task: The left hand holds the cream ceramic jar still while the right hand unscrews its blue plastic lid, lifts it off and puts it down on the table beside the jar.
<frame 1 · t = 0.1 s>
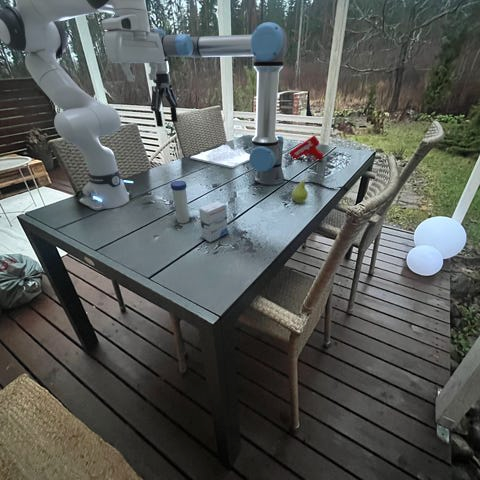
left hand: (142, 80, 85), 48 cm above the table, tool pointing down, fingers open, 8 cm apart
right hand: (167, 124, 132), 28 cm above the table, tool pointing down, fingers open, 13 cm apart
fruit: (299, 202, 122), on the table
toy gun: (305, 160, 175), on the table
relief map: (224, 158, 180), on the table
jar: (183, 220, 108), on the table
ink box: (214, 236, 98), on the table
lid: (178, 184, 100), point 15 cm above the table, screwed on, not yet turned
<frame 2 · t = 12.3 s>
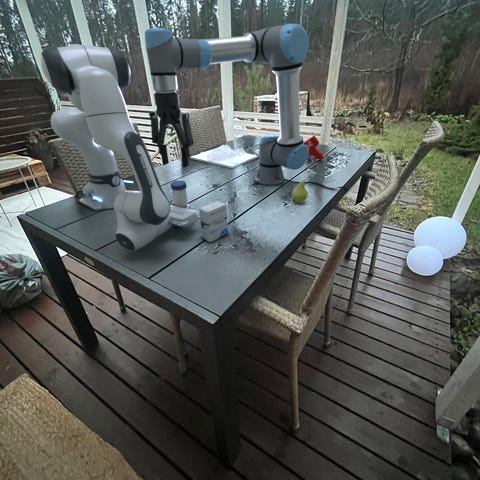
left hand: (182, 205, 105), 6 cm above the table, tool horizontal, fingers closed on jar, 5 cm apart
right hand: (175, 165, 96), 22 cm above the table, tool pointing down, fingers open, 7 cm apart
jar: (183, 220, 108), on the table, touching left hand
everything else where it was.
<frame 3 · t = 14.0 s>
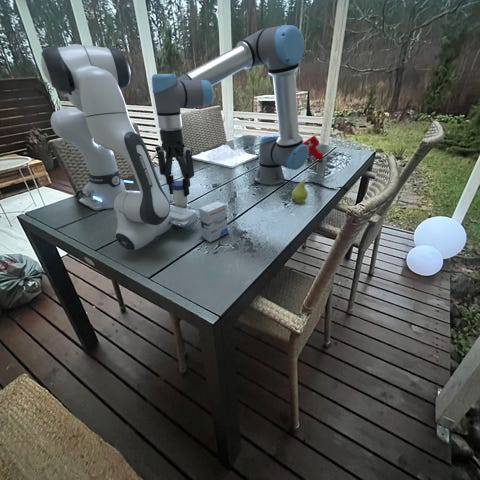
left hand: (182, 205, 105), 6 cm above the table, tool horizontal, fingers closed on jar, 5 cm apart
right hand: (179, 194, 102), 11 cm above the table, tool pointing down, fingers closed on lid, 5 cm apart
jar: (183, 220, 108), on the table, touching left hand
lid: (178, 184, 100), point 15 cm above the table, screwed on, not yet turned, touching right hand
everything else where it was.
when the right hand's fingers open (0 cm above the table, at t = 23.7 s): lid drops 3 cm, point 1 cm above the table.
when the left hand's fingers open (6 cm above the table, at t = 24.8 s): jar stays where it is, on the table.
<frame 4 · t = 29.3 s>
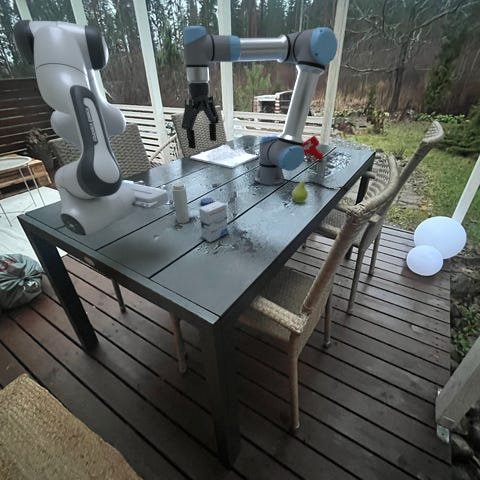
left hand: (154, 185, 89), 19 cm above the table, tool horizontal, fingers open, 8 cm apart
right hand: (203, 144, 107), 26 cm above the table, tool pointing down, fingers open, 13 cm apart
jar: (183, 220, 108), on the table
lid: (207, 201, 120), point 1 cm above the table, off its thread
everything else where it was.
at the end: lid came off its thread; lid point 1.4 cm above the table; the left hand is holding nothing; the right hand is holding nothing; jar tilted 0°; jar moved 0.1 cm from its start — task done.
